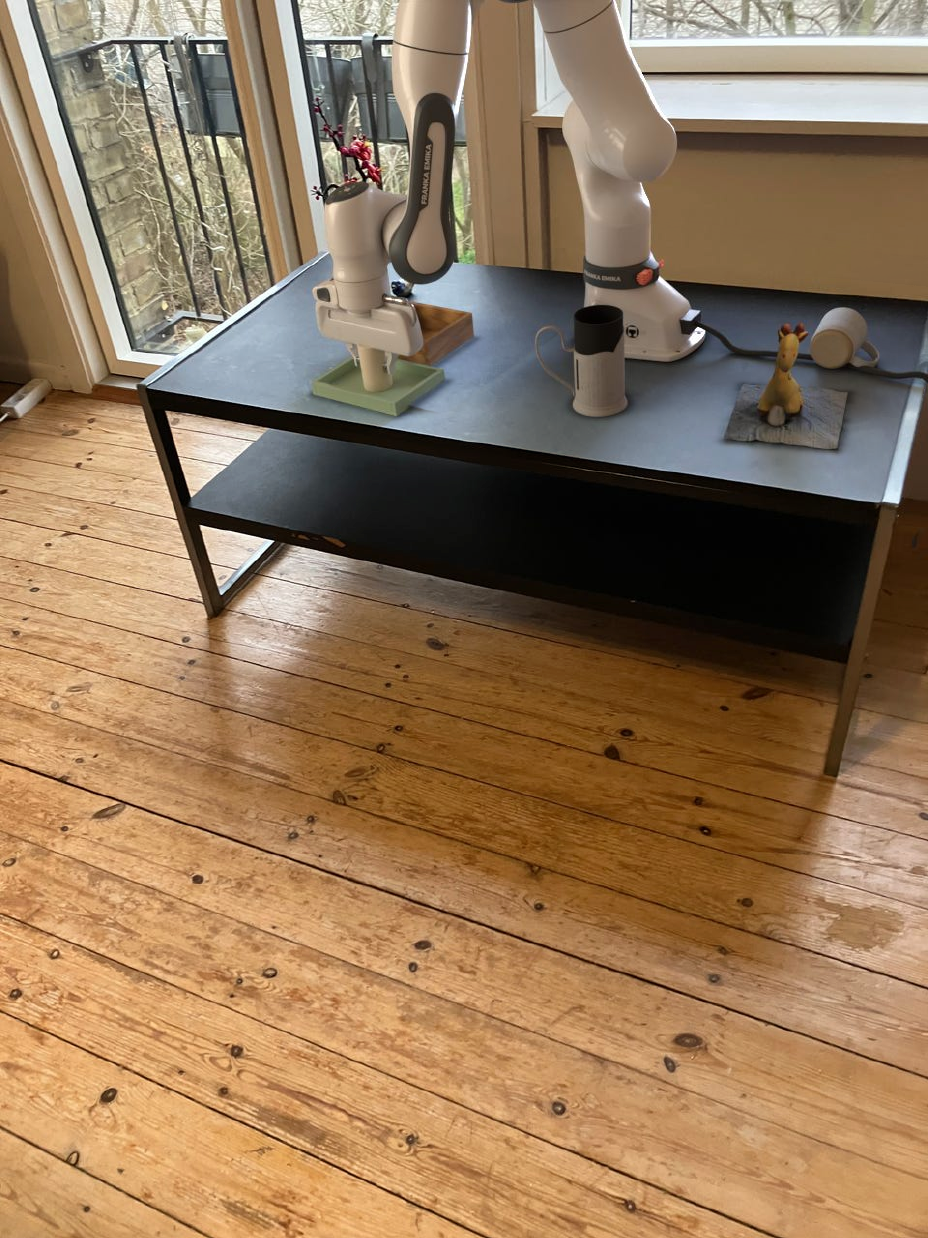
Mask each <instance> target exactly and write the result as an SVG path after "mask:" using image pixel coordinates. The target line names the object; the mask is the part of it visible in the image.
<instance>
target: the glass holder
mask: <svg viewBox="0 0 928 1238" xmlns="http://www.w3.org/2000/svg"><path fill="white" fill-rule="evenodd" d="M547 330H553V331H555V332H557V333H558V334H559V336H560V339H561V347H562V349H563V350H564V351H565V352H567V353H573V366H574V367H573V369H574V370H573V371H574V387H573V386H572V385H571V384H569V383H568V382H567V381H565V379H563V378H561V377H559V376H558V375H556V374H555V373H554V372H552V371H551V370H550V369H549V368H548V367H547V365H546V364H545V362H544V360H543V359H542V357H541V353H540V351H539V344H538V340H539V336H540V334H541V333H542V332H545V331H547ZM573 332H574V333H573V335H574V336H573V337H574V345H573V348H567V347H566V346H565V337H564V334H563V332H562V331H561V329H560V328H558V327H556V326H554V325H546V326H544V327H542V328H540V329H538V331H537V333H536V334H535V341H534V344H535V353H536V356H537V359H538V361H539V363H540V364H541V366H542V368H543V369H544V371H545V373H547V374H548V375H550V376H551V377H552V378H554V379H555V380H556V381H558V382H559V383H561V384H563V385H564V386H565V387H567V388H568V389H570V390H571V391H572V395H573V397H574V400H573V402H572V408H573V409H574V411H576V413H578V414H580V415H583V416H587V417H592V418H593V417H594V418H601V417H603V418H604V417H610V416H613V415H616V414H618V413H621V412H623V411H624V410H625V409H626V408H627V406H628V398H627V397H626V394H625V393H626V391H625V389H626V387H625V385H626V384H625V381H626V380H625V375H626V374H625V373H626V372H625V370H626V369H625V366H626V365H625V359H626V358H625V357H624V326H623V311H622V310H621V309H620V308H618V307H615V306H611V305H592V306H587V307H584V306H583V307H581V308H579V309H577V310H576V311H575V312H574V314H573Z"/></svg>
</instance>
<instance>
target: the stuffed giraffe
mask: <svg viewBox="0 0 928 1238" xmlns="http://www.w3.org/2000/svg"><path fill="white" fill-rule="evenodd" d="M777 336H778V343H779V344H778V350H777V351H778V355H777V357H776V360H775V366H774V371H773V373H772V375H771V377H770V378H769V380H768V382H767V384H766V385H763V384H748V383H742V385H741V388H740V390H739V392H738V394H737V395H738V396H737V398H736V401H735V403H734V405H733V409H732V411H731V414H730V418H729V420H728V424H727V426H726V430H725V433H724V436H723V439H726V440H733V441H734V440H735V441H739V442H752V441H755V440H758V441H759V442H766V443H773V444H775V443H783V444H786V445H796V446H806V447H809V448H817V449H823V450H831V449H833V450H834V449H837V448H838V445H839V440H840V436H841V435H840V434H841V429H842V424H843V419H844V413H845V408H846V403H847V398H848V391H847V392H846V391H843V392H842V391H838V390H837V391H836V390H835V389H831V388H830V389H829V388H826V387H825V388H824V387H822V386H820V387H817V386H814V387H805V386H800V385H799V384H798V382H797V381H796V380H795V379H794V377H793V376H792V374H791V369H792V368H793V367H794V364H795V362H796V360H797V359H796V357H797V355H798V353H799V350H800V349H799V348H800V343H802V342H804V340H805V339H806V338H807V337H808V336H809V331H805V324H803V323H802V322H800V323H798V324H797V325H796V326H795V327H794V330H793V331H792V327H791V325H790V324H789V323H783V324H782V325H781V327H780V328H779V329H778V330H777Z"/></svg>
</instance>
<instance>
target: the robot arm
mask: <svg viewBox="0 0 928 1238" xmlns="http://www.w3.org/2000/svg"><path fill="white" fill-rule="evenodd" d="M486 1H487V0H398V6H397V12H396V18H395V23H394V30H393V37H392V38H393V40H392V48H391V49H392V50H391V81H392V91H393V95H394V98H395V100H396V103H397V105H398V108H399V111H400V112H401V116H402V117H403V120H404V124H405V128H406V132H407V136H408V143H409V165H408V179H407V192H406V194H399V193H392V192H388V191H385V190H382V189H379V188H378V187H375V186H373V185H372V184H370V183H369V182H367V181H352V182H349V183H345V184H343V185H341V186H339V187H337V188H335V189H334V190H333V191H332V192H330V193H329V194H328V196H327V197H326V199H325V201H324V207H323V221H324V229H325V237H326V244H327V250H328V252H329V255H330V256H331V259H332V264H333V266H332V267H333V268H332V277H329V278H327V279H325V280H324V281H322V282H321V283H319V284H318V285H316V286H314V287H313V288H312V296H313V298H314V300H316V301H315V316H316V321H317V327H318V330H319V332H320V333H321V336H323V337H324V338H325V339H328V340H334V341H338V342H342V343H345V347H346V349H347V350H348V352H349V354H350V355H351V357H354V363H355V366H357V367H361V365H360V359H359V353H358V348H357V344H359V345H363V346H368V347H372V348H374V349H378V350H382V351H385V355H386V356H387V357H388V360H387V362H386V363H384V364H382V365H383V369H384V370H383V371H384V373H387V374H391V375H392V374H394V373H395V372H396V370H397V369H396V361H397V358H398V356H399V354H400V355H404V356H411V355H413V354H415V353H416V352H418V351H419V350H420V349H421V348H422V346H423V337H422V332H421V328H420V324H419V320H418V317H417V314H416V309H415V307H414V306H413V305H412V304H411V303H412V302H410V301H409V299H408V298H406V297H403V296H396V295H392V290H391V284H390V283H391V282H390V275H389V271H388V265H390V264H391V265H392V267H393V270H394V272H395V273H396V274H397V275H398V277H399V278H401V279H402V280H404V281H405V282H407V283H410V284H412V285H419V286H420V285H421V286H422V285H429V284H432V283H435V282H437V281H439V280H440V279H442V278H443V277H444V276H446V274H447V273H448V272H449V271H450V269H451V268H452V266H453V264H454V262H455V259H456V254H457V253H456V252H457V248H456V247H457V246H456V245H457V244H456V239H455V236H454V232H453V229H452V225H451V221H450V220H451V219H450V203H451V191H452V181H453V180H452V179H453V170H454V169H453V168H454V155H455V146H456V145H455V144H456V134H457V133H456V132H457V127H458V121H459V113H460V107H461V101H462V96H463V91H464V86H465V81H466V79H465V78H466V73H467V67H468V60H469V54H470V45H471V36H472V27H473V25H474V23H475V19H476V16H477V14H478V12H479V11H480V9H481V7H482V5H483V4H485V3H486ZM499 1H500V2H502V3H505V4H520V3H524V2H528V1H529V0H499ZM531 1H532V4H533V5H534V7H535V9H536V11H537V15H538V18H539V21H540V25H541V28H542V30H543V31H542V32H543V34H544V36H545V39H546V42H547V45H548V48H549V51H550V55H551V57H552V59H553V62H554V65H555V68H556V72H557V74H558V77H559V80H560V81H561V83H562V85H563V86H564V88H565V89H566V90H567V92H568V93H569V95H570V96H571V97H572V101H571V102H570V103H569V104H568V106H567V107H566V110H565V112H564V113H563V118H562V123H561V129H562V130H561V131H562V135H563V138H564V142H565V143H566V145H567V147H568V149H569V151H570V154H571V158H572V161H573V167H574V171H575V176H576V180H577V184H578V189H579V194H580V199H581V203H582V211H583V222H584V244H585V245H584V251H585V253H584V254H585V255H584V256H583V259H582V263H583V264H582V279H583V284H584V287H585V289H584V302H583V308H584V307H587V306H592V305H611V306H615V307H618V308H620V309H621V310H622V311H623V326H624V357H625V359H633V360H634V359H636V360H645V361H655V362H664V363H665V362H673V361H678V360H680V359H682V358H684V357H686V356H688V355H689V354H692V353H693V352H694V351H696V350H697V349H698V348H699V347H700V346H701V345H702V344H703V342H704V340H705V339H706V332H707V333H709V334H710V335H712V336H714V337H716V338H717V339H718V340H719V341H720V342H721V343H722V345H723V346H724V347H725V348H726V349H728V350H729V351H730V352H733V353H735V354H738V355H743V356H751V357H771V358H777V355H778V350H769V349H746V348H741V347H738V346H736V345H733V344H732V343H731V342H730V341H729V340H728V339H727V337H726V336H725V335H724V334H723V333H722V332H720V331H719V330H717V329H716V328H713V327H712V326H710V325H708V324H707V323H704V322H702V320H701V319H702V311H701V310H696V309H692V307H691V304H690V302H689V300H688V299H687V298H686V297H684V296H683V295H682V294H681V293H679V292H678V290H676V289H675V288H674V287H673V286H672V285H670V284H669V282H667V281H666V280H665V279H664V278H662V276H661V274H660V269H662V268H663V267H664V266H665V264H664V262H665V258H662V259H660V260H659V261H658V262H657V260H656V259H655V257H654V254H653V252H652V251H651V238H652V237H651V236H652V235H651V234H652V231H651V229H652V208H651V204H650V202H649V199H648V197H647V195H646V192H645V190H644V187H643V184H642V183H650V182H651V183H652V182H653V181H654V182H655V181H656V180H658V179H660V178H661V177H662V176H663V175H665V173H667V172H668V170H669V168H670V167H671V165H672V164H673V162H674V160H675V157H676V154H677V148H678V147H677V146H678V140H677V139H678V138H677V134H676V131H675V129H674V127H673V125H672V124H671V123H670V122H669V120H668V119H667V118H666V116H665V115H664V113H663V112H662V111H661V109H660V107H659V105H658V103H657V102H656V100H655V97H654V95H653V93H652V91H651V89H650V87H649V85H648V83H647V82H646V80H645V78H644V75H643V74H642V72H641V69H640V68H639V66H638V64H637V62H636V60H635V58H634V55H633V53H632V49H631V48H630V45H629V41H628V39H627V36H626V32H625V30H624V27H623V23H622V20H621V16H620V13H619V10H618V6H617V3H616V0H531ZM796 360H806V361H814V360H813V358H812V356H811V354H810V353H805V352H798V355H797V357H796ZM814 362H815V361H814ZM843 368H849V369H853V370H858V371H861V372H865V373H866V374H870V375H874V376H877V377H878V376H879V377H883V378H887V379H891V380H892V379H894V380H903V379H904V380H905V379H914V378H916V379H921V380H923V381H925V382H926V383H927V384H928V373H926V372H924V371H918V370H917V371H916V370H912V371H903V372H902V371H901V372H896V371H889V370H883V369H880V368H875V367H869V366H860V367H856V366H854V365H852V364H851V363H847V364H845V365H844V366H843ZM919 534H920V530H917V532H916V533H915V535H914V537H913V538H912V540H911V541H910V548H912V549H915V548H917V546H918V540H919Z"/></svg>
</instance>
